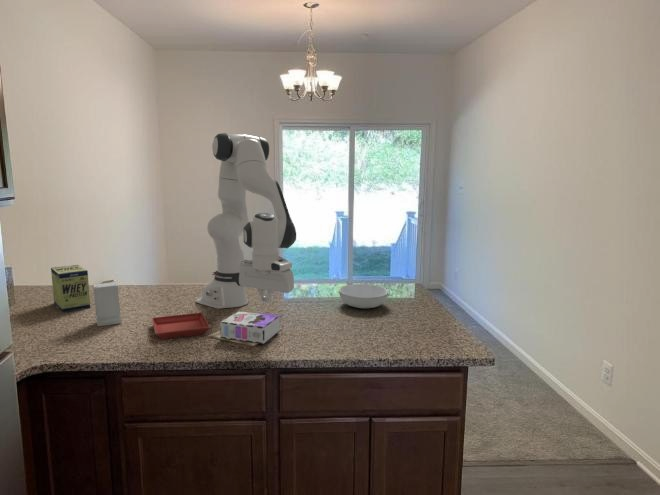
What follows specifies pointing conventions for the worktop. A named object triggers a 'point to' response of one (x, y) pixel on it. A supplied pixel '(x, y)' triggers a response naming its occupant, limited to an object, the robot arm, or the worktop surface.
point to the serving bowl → (363, 295)
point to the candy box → (250, 327)
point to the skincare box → (107, 303)
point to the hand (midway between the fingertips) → (265, 301)
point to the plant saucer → (180, 325)
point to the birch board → (217, 335)
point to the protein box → (70, 288)
